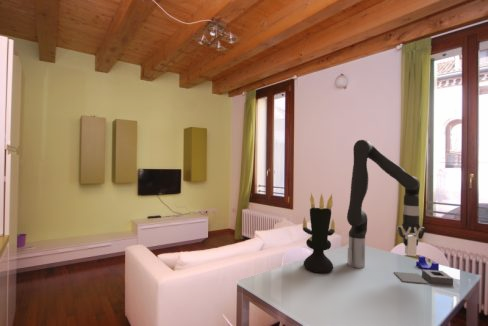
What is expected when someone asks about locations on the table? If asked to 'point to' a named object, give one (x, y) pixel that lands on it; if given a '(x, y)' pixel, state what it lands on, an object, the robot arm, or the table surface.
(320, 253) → the candelabra
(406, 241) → the robot arm
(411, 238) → the plug
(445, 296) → the table surface
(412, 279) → the mat
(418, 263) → the cable clip
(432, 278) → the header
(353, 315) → the table surface
